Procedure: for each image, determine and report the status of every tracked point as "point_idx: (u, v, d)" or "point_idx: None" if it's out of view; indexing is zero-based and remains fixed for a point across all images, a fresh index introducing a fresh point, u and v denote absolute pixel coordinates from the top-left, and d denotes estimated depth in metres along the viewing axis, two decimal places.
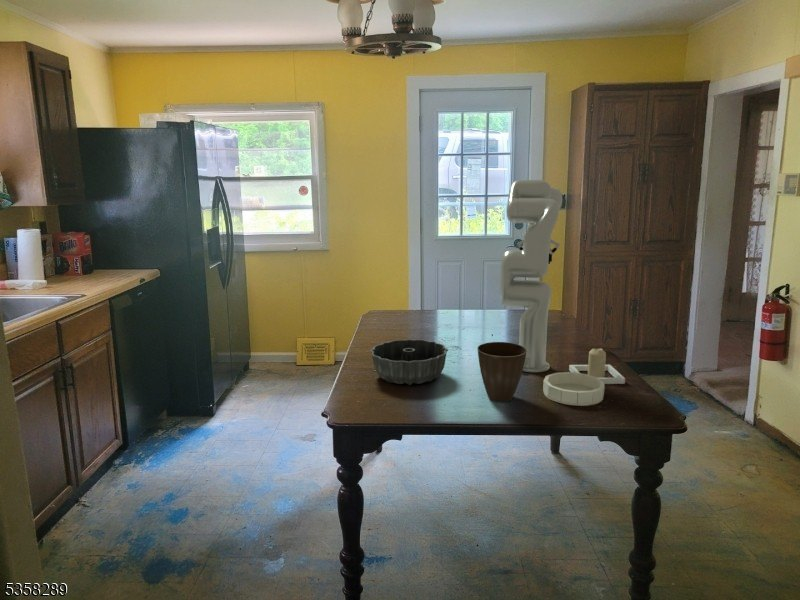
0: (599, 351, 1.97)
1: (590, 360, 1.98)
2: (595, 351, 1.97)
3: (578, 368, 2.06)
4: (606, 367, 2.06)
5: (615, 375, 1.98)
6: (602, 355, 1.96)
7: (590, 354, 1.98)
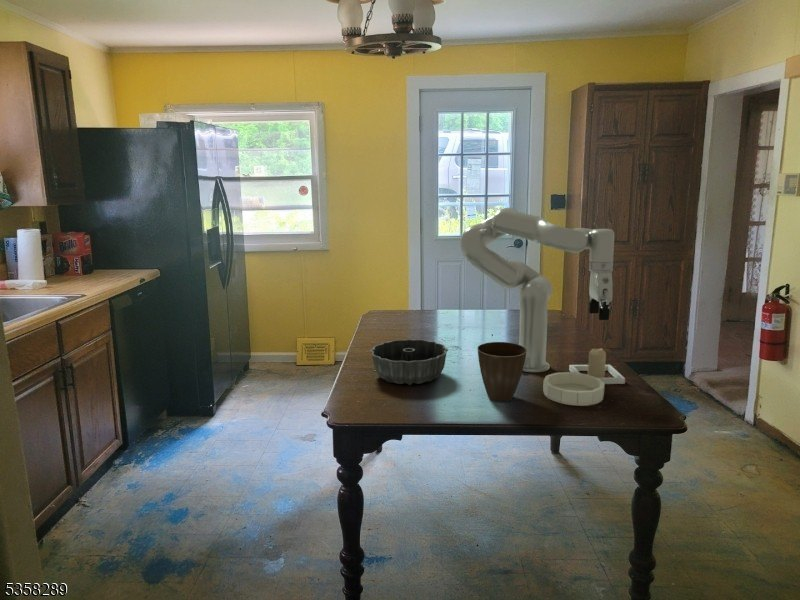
0: (599, 351, 1.97)
1: (590, 360, 1.98)
2: (595, 351, 1.97)
3: (578, 368, 2.06)
4: (606, 367, 2.06)
5: (615, 375, 1.98)
6: (602, 355, 1.96)
7: (590, 354, 1.98)
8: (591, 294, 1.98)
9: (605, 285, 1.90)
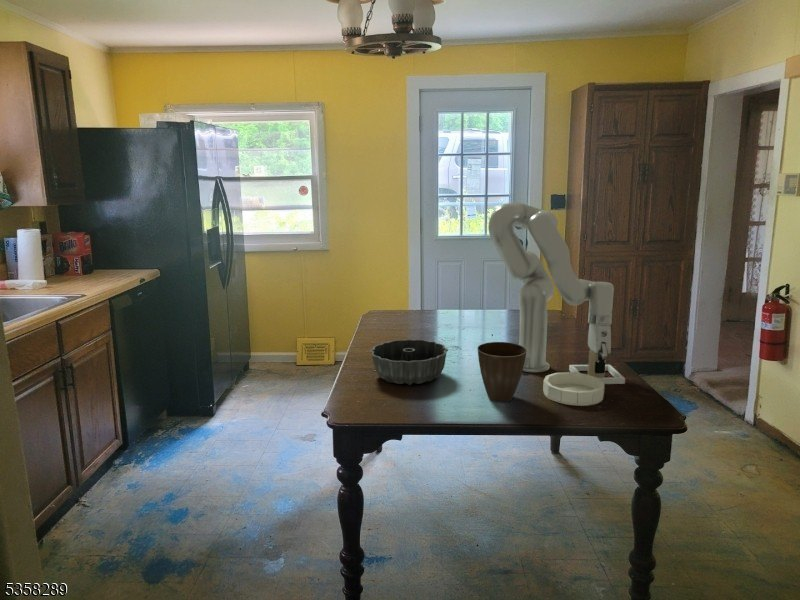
0: (599, 351, 1.96)
1: (590, 360, 1.98)
2: None
3: (578, 368, 2.06)
4: (606, 367, 2.06)
5: (615, 375, 1.98)
6: None
7: (590, 354, 1.98)
8: (590, 345, 2.00)
9: (603, 338, 1.92)
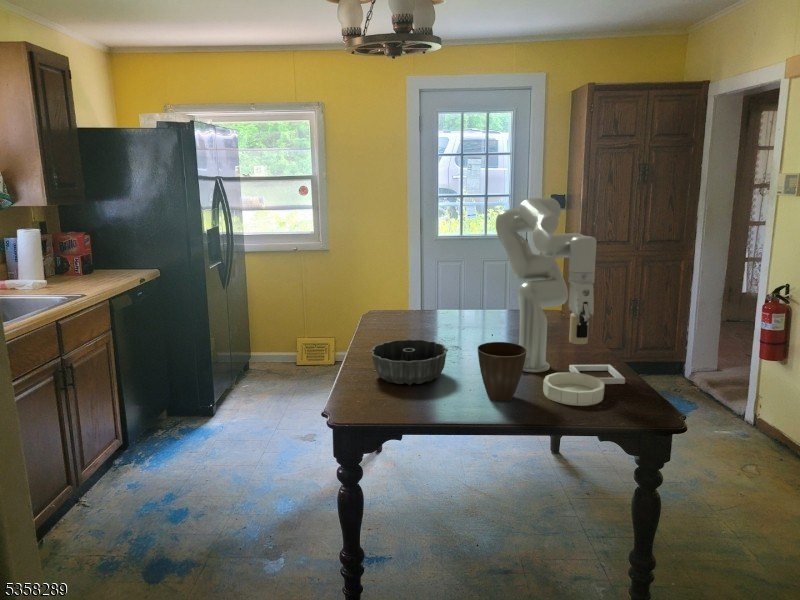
0: (581, 313, 1.78)
1: (572, 323, 1.79)
2: None
3: (578, 368, 2.06)
4: (606, 367, 2.06)
5: (615, 375, 1.98)
6: None
7: (572, 317, 1.79)
8: (571, 307, 1.81)
9: (585, 298, 1.73)
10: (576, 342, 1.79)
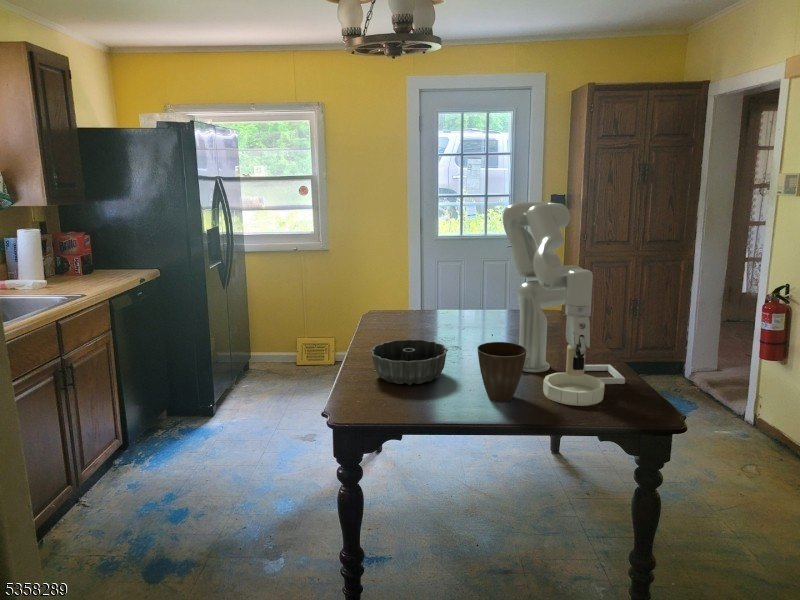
0: (578, 345, 1.79)
1: (568, 355, 1.80)
2: None
3: None
4: (606, 367, 2.06)
5: (615, 375, 1.98)
6: None
7: (568, 349, 1.80)
8: (567, 339, 1.82)
9: (582, 331, 1.75)
10: (573, 374, 1.80)
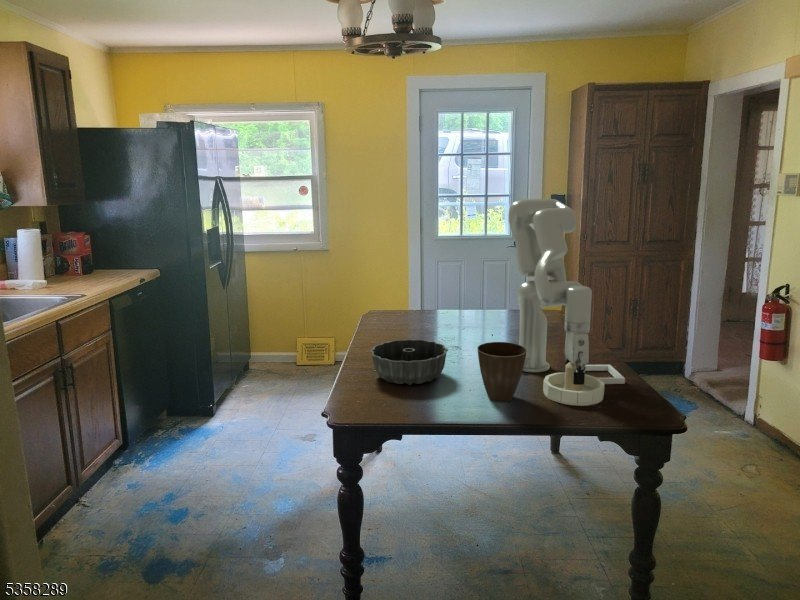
0: None
1: (566, 374, 1.82)
2: (572, 364, 1.81)
3: None
4: (606, 367, 2.06)
5: (615, 375, 1.98)
6: None
7: (566, 368, 1.82)
8: (566, 355, 1.83)
9: (580, 348, 1.76)
10: None
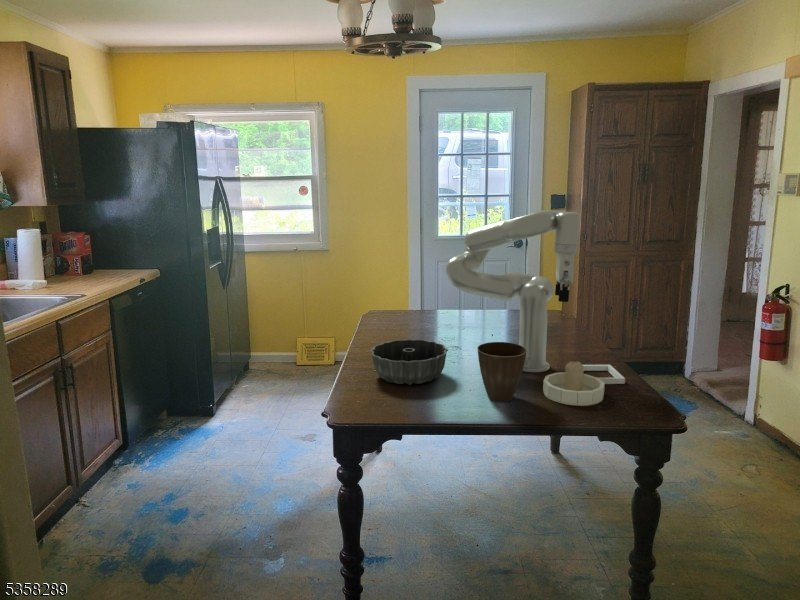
0: (576, 365, 1.80)
1: (566, 374, 1.82)
2: (572, 364, 1.81)
3: None
4: (606, 367, 2.06)
5: (615, 375, 1.98)
6: (579, 369, 1.80)
7: (566, 368, 1.82)
8: (556, 276, 2.01)
9: (566, 267, 1.93)
10: None
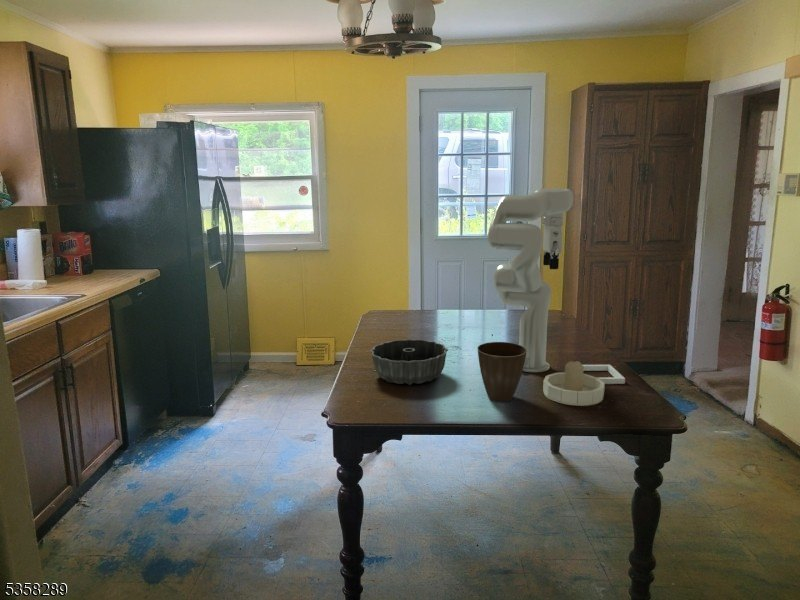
0: (576, 364, 1.80)
1: (566, 374, 1.82)
2: (571, 364, 1.81)
3: None
4: (606, 367, 2.06)
5: (615, 375, 1.98)
6: (579, 369, 1.80)
7: (566, 368, 1.82)
8: (544, 247, 2.23)
9: (555, 238, 2.15)
10: None
